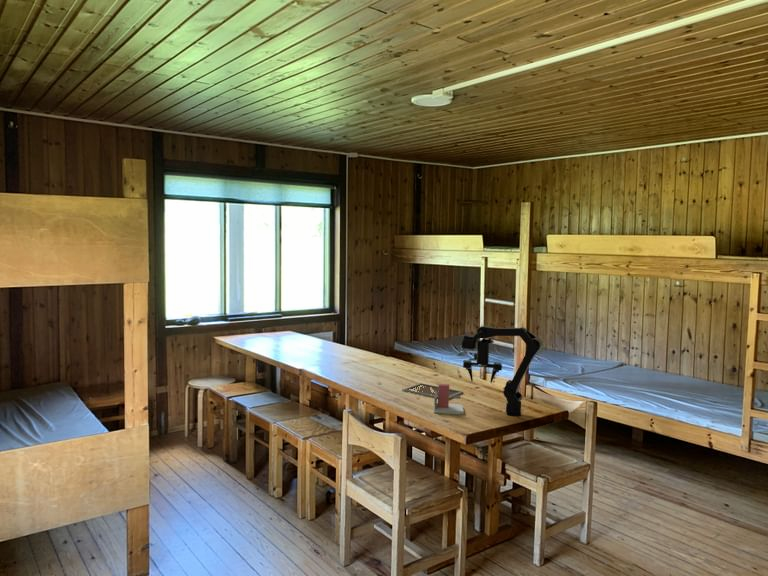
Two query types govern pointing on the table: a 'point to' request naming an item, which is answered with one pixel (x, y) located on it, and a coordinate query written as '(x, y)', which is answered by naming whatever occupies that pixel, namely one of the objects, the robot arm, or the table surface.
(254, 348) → the table surface
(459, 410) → the shelf
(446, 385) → the tall pink rectangular prism
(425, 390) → the gray perforated panel
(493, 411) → the table surface
